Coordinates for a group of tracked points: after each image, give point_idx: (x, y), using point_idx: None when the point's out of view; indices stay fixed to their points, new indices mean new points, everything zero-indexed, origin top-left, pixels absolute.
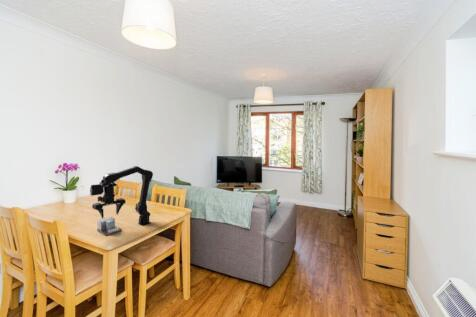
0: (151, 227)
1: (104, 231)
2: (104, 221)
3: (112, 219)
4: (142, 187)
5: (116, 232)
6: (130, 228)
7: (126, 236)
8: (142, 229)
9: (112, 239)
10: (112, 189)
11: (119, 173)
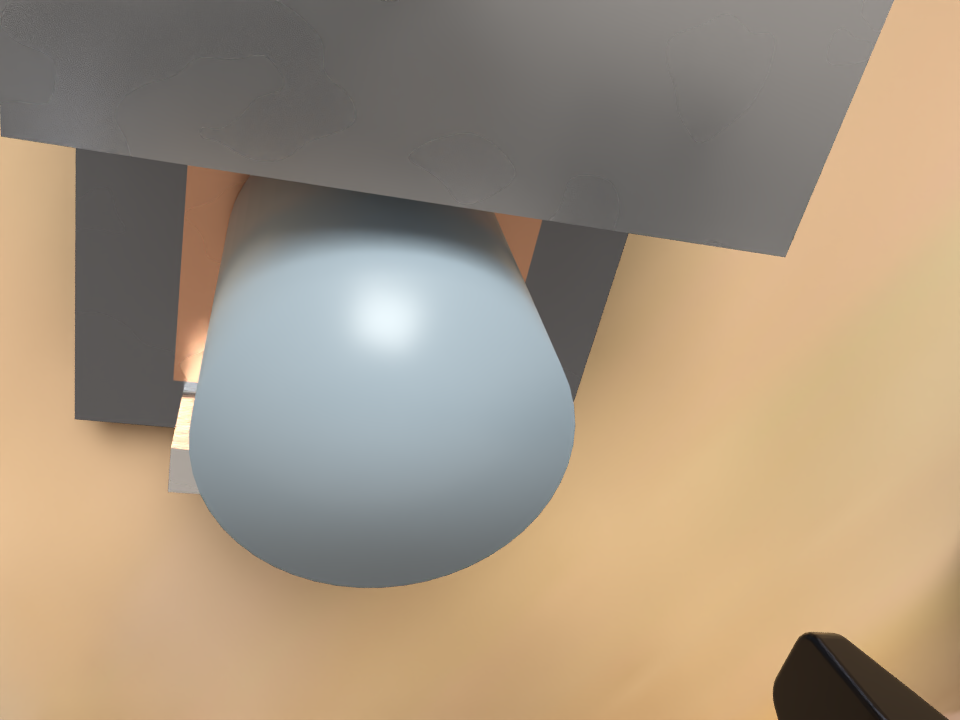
0: (929, 702)
1: (155, 193)
2: (233, 157)
3: (655, 223)
4: None
5: None
6: (768, 445)
7: (386, 704)
8: None
9: (108, 633)
10: None
11: None
